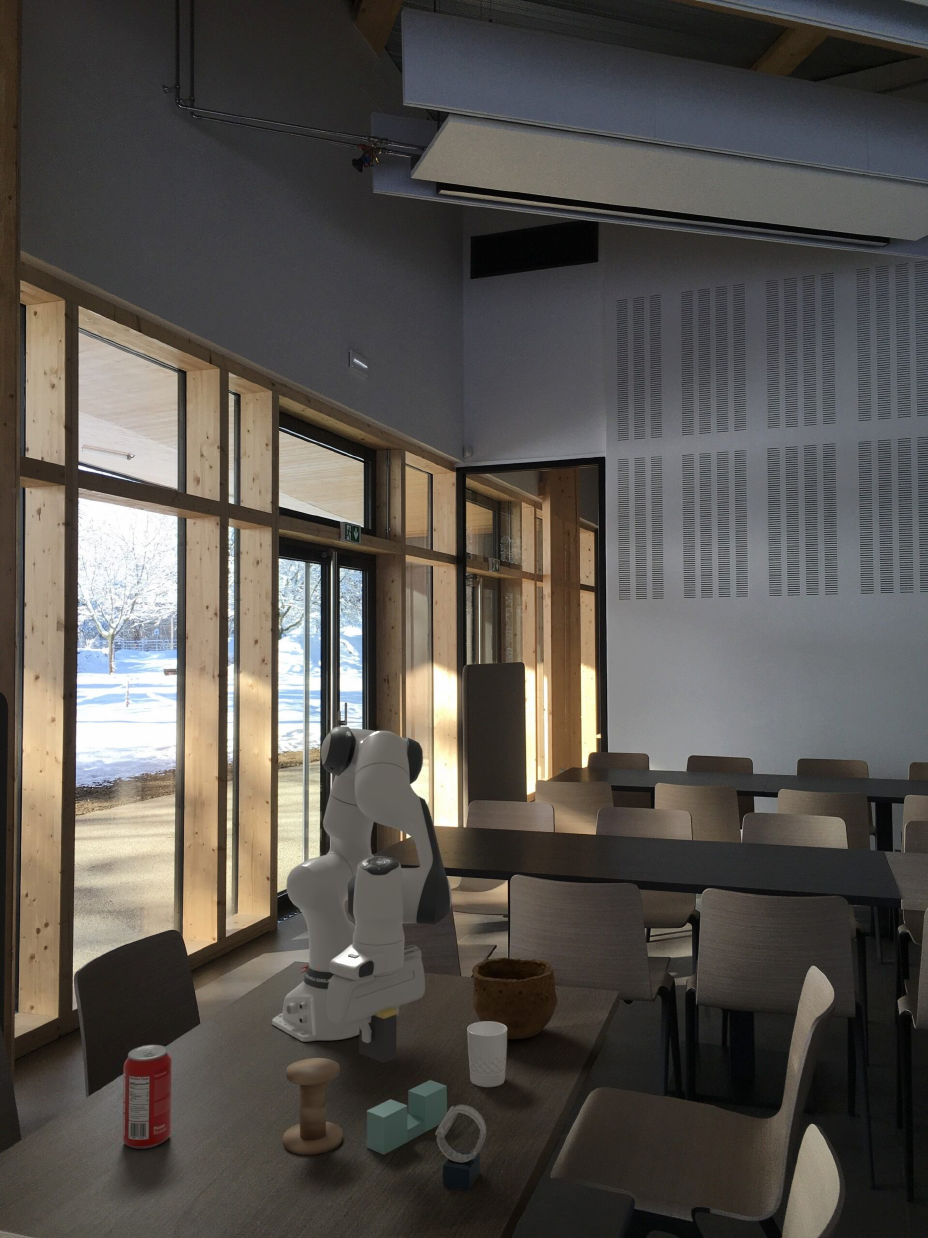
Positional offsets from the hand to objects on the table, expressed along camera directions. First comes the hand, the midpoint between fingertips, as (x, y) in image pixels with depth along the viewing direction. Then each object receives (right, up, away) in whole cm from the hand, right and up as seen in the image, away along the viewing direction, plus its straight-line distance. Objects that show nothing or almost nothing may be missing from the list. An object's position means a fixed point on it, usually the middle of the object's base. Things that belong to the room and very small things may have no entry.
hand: (377, 1037), depth 166 cm
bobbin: (-11, -18, 0) cm, 21 cm away
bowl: (+26, -20, +47) cm, 58 cm away
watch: (+14, -17, -13) cm, 26 cm away
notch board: (+5, -18, +2) cm, 18 cm away
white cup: (+19, -19, +24) cm, 36 cm away
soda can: (-39, -18, 0) cm, 43 cm away
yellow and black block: (0, -3, 0) cm, 3 cm away
